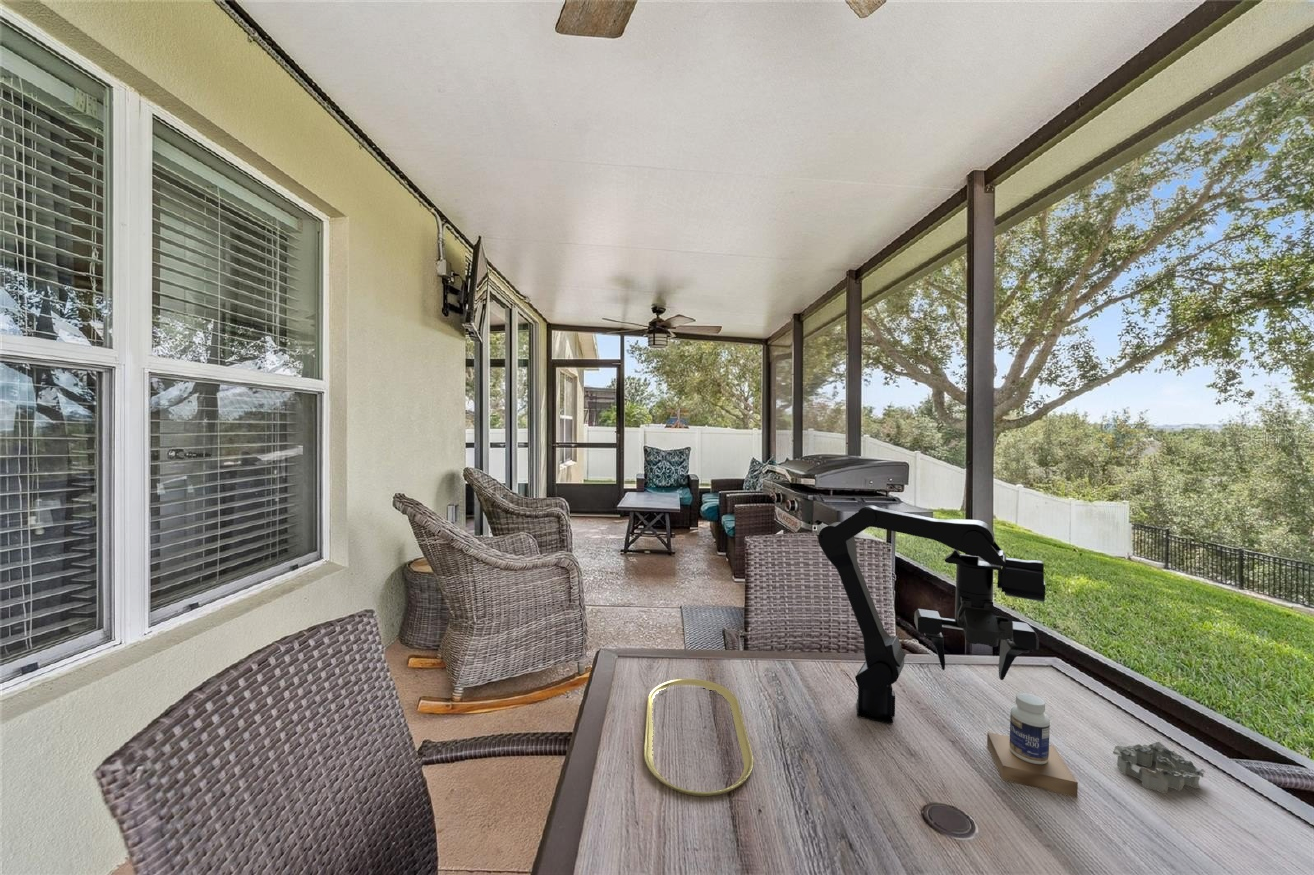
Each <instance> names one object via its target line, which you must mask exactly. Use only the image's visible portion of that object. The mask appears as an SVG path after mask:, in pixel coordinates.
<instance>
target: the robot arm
mask: <svg viewBox="0 0 1314 875" xmlns="http://www.w3.org/2000/svg"><path fill="white" fill-rule="evenodd" d="M869 527H872V528H878V529H882V530H887V531H891V532H895V533H900V534H905V535H909V536H910V535H911V536H912V537H913V536H914V537H919V538H923V539H928V540H932V541H935V542H939V543H940V544H942V545H944V546H947V547H949V548H951V549H953V551H952V552H951V553H949V554H947V555H946V556H945V558H944V562H945V563H947V564H951V565H952V564H953V565H956V572H955V573H956V574H955V575H956V577H955V602H954V606H955V608H954V618H946V617H941V616H940V613H939V611H936V610H932V609H931V610H929V609H923V608H917V609H916V610H914V619H913V620H914V624H915V627H916V630H917V632H919V633H921V634H924V637H926V638H928V639H931V640H932V643H933V645H934V648H935V650H936V654H937V657H938V660H939V664H940V668H941V670H942V671H945V670H946V656H945V649H944V636H943V634H942V632H943V629H944V630H950V631H957V632H963V634H964V638H965V641H966V642H968V643H970V644H972V645H978V644H979V645H984V646H988V647H993V648H995V647H998V646H999V655H998V656H999V659H998V678H999V680H1000V681H1004V679H1005V677H1006V675H1007V673H1008V671H1009V669H1010V667H1011V666H1012V663H1013V662H1014V661H1015V659H1016V658H1017V657H1018V656H1019V655H1020V654H1022V653H1026V654H1027V653H1029V652H1030V650H1037V651H1038V650H1039V649H1040V638H1039V635H1038V633H1036V631H1035V630H1034V629H1033V628H1032V627H1031V626H1030V625H1029V624H1028V623H1027V622H1020V621H1013V620H1012V618H1011V617H1006V616H999V615H996V613H995V611H994V601H993V596H994V594H993V593H994V587H993V586H994V571H997V586H996V588H997V589H999V590H1001V592H1002V593H1004V596H1007V597H1012V598H1018V599H1024V600H1030V601H1036V602H1041V603H1045V600H1046V582H1045V569H1044V568H1045V564H1044V562H1043V561H1042V560H1037V559H1035V560H1034V559H1033V560H1032V559H1031V560H1030V559H1029V560H1028V559H1019V558H1014V557H1013V558H1012V557H1007V555H1006V553H1005V552H1004V550H1003V549H1001V547H1000V546H999V545H998V543H997V542H996V541H995V533H994V530H993V528H991V526H990V525H989V524H988V523H986V522H985V521H983V520H980V519H966V518H965V519H964V518H963V519H961V518H953V519H952V518H950V519H946V518H945V519H943V518H942V519H941V518H934V517H929V516H923V515H919V514H913V513H908V512H903V511H897V510H893V509H888V508H883V507H878V506H876V505H873V504H870V505H866V506H863V507H861V508H860V509H859V510H858V511H857V512H855V513H854V514H852V515H851V516H849V517H847V518H846V519H845V520H843V521H836V522H833V523H831V524H828V525H826V526H824V527H822V529H821V530H820V531H819V532H818V535H817V542H818V545H819V547H820V549H821V550H822V552H823V554H824V555H825V557H826V558H827V560H828V561H829V562H830V564H832V565H833V567H834V568H835V569H836V570H837V573H838V576H839V579H840V581H841V583H842V585H843V589H844V591H845V594H846V596H847V598H848V601H849V604H850V606H851V609H852V612H853V614H854V617H855V619H856V621H857V625H858V627H859V629H860V632H861V635H862V638H863V651H864V652H863V653H864V659H865V661H864V662H863V664H862V666H861V667H860V668H859V670H858V672H857V673H856V675H855V676H854V678H855V681H856V685H857V699H856V717H858V718H860V719H861V718H862V719H867V720H872V721H877V722H881V723H886V724H889V725H891V724H892V725H893V723H894V722H893V721H894V719H893V718H894V717H896V716H895V715H896V694H895V693H896V692H895V691H894V690H893V684H894V683H896V682H897V681H898V679H899V677H900V675H901V673H902V671H903V669H904V666H905V658H906V656H907V653H906V652H905V651H904V649H903V648H902V647H901V642H900V639H899V636H898V635H895V636H891V635H890V634H889V633H888V632H887V630H885V628H884V625H883V623H882V620H881V618H880V616H879V615H880V614H879V613H878V610H877V607H876V605H875V603H874V600H873V598H872V595H871V593H870V590H869V588H868V585H867V583H866V581H865V578H864V576H863V573H862V570H861V567H860V565H859V562H858V552H857V549H858V548H857V544H856V543H857V542H856V539H855V538H856V537H855V536H857V535H858V534H860V533H861V532H863V531H864V530H866V529H868V528H869ZM980 559H982V560H980ZM983 560H984V561H983ZM999 642H1000V644H999Z"/></svg>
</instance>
